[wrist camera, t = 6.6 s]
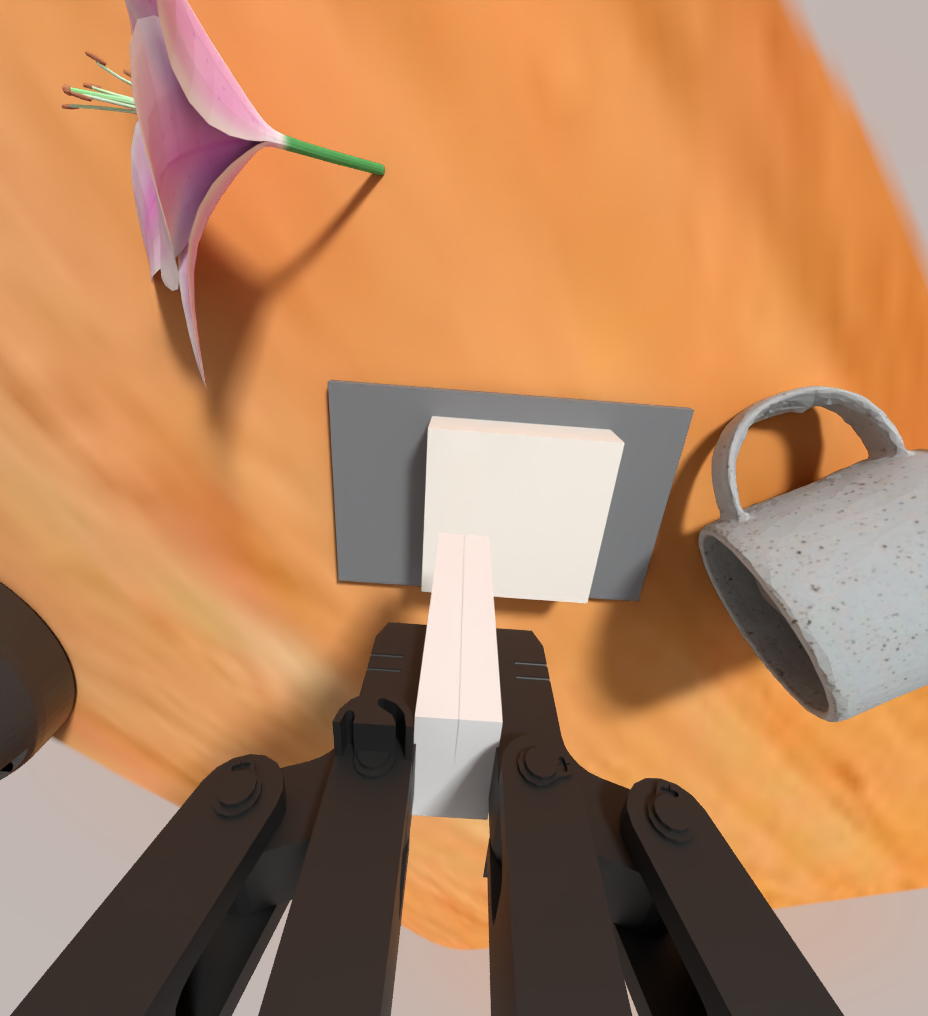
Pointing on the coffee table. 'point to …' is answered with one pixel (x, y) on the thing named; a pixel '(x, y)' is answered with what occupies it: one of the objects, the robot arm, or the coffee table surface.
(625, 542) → the mat
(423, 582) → the tile
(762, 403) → the ceramic mug
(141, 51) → the lily
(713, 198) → the coffee table surface
